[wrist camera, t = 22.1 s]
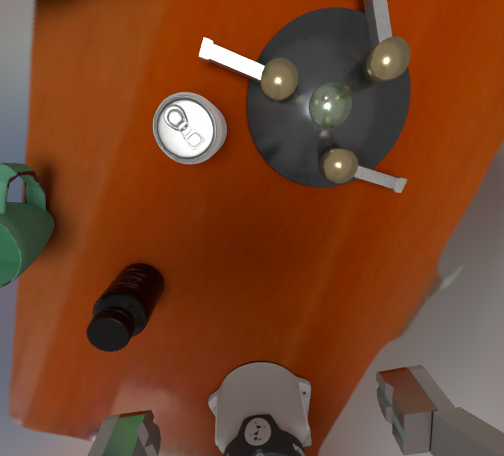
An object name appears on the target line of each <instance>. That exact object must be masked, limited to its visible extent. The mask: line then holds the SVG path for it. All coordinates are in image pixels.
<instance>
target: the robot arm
mask: <svg viewBox="0 0 504 456" xmlns="http://www.w3.org/2000/svg"><path fill="white" fill-rule="evenodd" d="M376 378H377V379H376V380H377V382H378V384H379V387H378V389H377V398H378V402H379V406H380V408H381V411H382V413H383V415H384V417H385V419H386V421H388V422H389V423H391V424H392V426H393V435H394V437H395V439H396V441H397V443H398V445H399V447H400V449H401V451H402V453H403V455H408V454H417V453H424V452H431V454H432V455H433V456H504V433H503V432H501V431H499V430H498V429H496V428H494V427H493V426H491V425H489V424H488V423H486V422H484V421H483V420H481V419H479V418H477V417H476V416H474V415H472V414H471V413H469V412H467V411H466V410H464V409H462V408H460V407H458V408H455V407H454V405H453V404H452V403H451V402H450V400H449V399H448V398H447V396H446V395H445V394H444V393H443V391H442V390H441V389H440V388H439V386H438V385H437V384H436V382H435V381H434V380H433V378H432V377H431V376H430V375H429V373H428V372H427V371H426V370H425V368H424V367H423V366H421V365H418V366H411V367H406V368H405V367H404V368H398V369H392V370H387V371H381V372H377V375H376ZM310 394H311V384H310V382H309V381H308V380H306V379H303V378H300V377H296V376H295V375H293V374H292V373H291V372H290V371H288V370H287V369H285V368H284V367H282V366H279V365H277V364H273V363H267V362H256V363H250V364H246V365H243V366H241V367H239V368H237V369H235V370H233V371H232V372H231V373H230V374H228V375H227V377H226V378H225V379H224V381H223V382H222V384H221V386H220V388H219V389H218V390H217V391H215V392H214V393H213V394H212V395H211V396H210V397H209V398H208V405H209V407H210V409H211V410H212V412H213V414H214V415H215V417H216V422H215V444H216V445H217V446H218V448H219V450H220V451H221V452H222V453H223V454H224V455H223V456H305V452H304V446H311V431H310V426H309V425H308V420H307V418H308V410H309V402H310ZM153 419H154V415H153V413H152V411H151V410H147V411H139V412H132V413H124V414H118V415H111V416H108V417H107V418H106V419H105V420H104V422H103V424H102V426H101V428H100V430H99V432H98V434H97V436H96V439H95V441H94V443H93V445H92V447H91V450H90V451H89V453H88V456H158V454H159V450H160V442H161V435H160V430H159V427H158V425H157V424H155V423H153Z"/></svg>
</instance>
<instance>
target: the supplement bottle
mask: <svg viewBox="0 0 504 456" xmlns="http://www.w3.org/2000/svg"><path fill="white" fill-rule="evenodd" d="M162 291H163V280H162V277H161V275H160V274H159V273H158V272H157V271H156V270H155V269H154V268H152V267H150V266H148V265H144V264H134V265H130V266H128V267H126V268H125V269H124V270H123V271H122V272H121V273H120V274H119V275H118V276H117V277H116V278H115V280H114V281H113V282H112V283H111V284H110V286H109V287H108V288H107V289H106V290H105V291H104V293H103V294H102V295H101V296H100V297H99V299H98V300H97V301H96V303H95V305H94V307H93V319H92V321H91V322H90V324H89V326H88V329H87V338H88V339H89V341H90V342H91V344H92V345H93V346H94V347H96V348H97V349H100V350H103V351H108V352H111V351H112V352H114V351H118V350H121V349H122V348H124V347H125V346H126V345H127V344H128V342H129V341H130V339H131V337H133V336H136V335H137V334H139V333H140V332H141V331H142V330H143V329H144V328H145V327H146V325H147V323H148V321H149V319H150V317H151V315H152V313H153V311H154V309H155V306H156V304H157V302H158V300H159V298H160V296H161V294H162Z"/></svg>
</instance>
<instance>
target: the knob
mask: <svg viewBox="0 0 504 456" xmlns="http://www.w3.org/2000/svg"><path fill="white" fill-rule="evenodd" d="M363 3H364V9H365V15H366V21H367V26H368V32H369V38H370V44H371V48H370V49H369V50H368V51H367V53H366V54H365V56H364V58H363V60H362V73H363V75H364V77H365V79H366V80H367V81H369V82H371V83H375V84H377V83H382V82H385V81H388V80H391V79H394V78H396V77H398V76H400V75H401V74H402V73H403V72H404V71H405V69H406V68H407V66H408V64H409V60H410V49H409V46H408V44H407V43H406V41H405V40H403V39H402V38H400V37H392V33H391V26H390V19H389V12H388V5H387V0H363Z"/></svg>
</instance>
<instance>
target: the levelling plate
mask: <svg viewBox="0 0 504 456" xmlns="http://www.w3.org/2000/svg"><path fill="white" fill-rule="evenodd" d="M392 37H394V36H393V35H392ZM370 48H371V44H370V38H369V32H368V26H367V21H366V15H365V13H362V12H359V11H357V10H352V9H348V8H335V7H333V8H324V9H319V10H315V11H312V12H309V13H307V14H304V15H302V16H300V17H298V18H296V19H295V20H293V21H291V22H290V23H288V24H287V25H286V26H285V27H283V28H282V29H281V30H280V31H279V32H278V33H277V34H276V35H275V36H274V37H273V38H272V39H271V40H270V42H269V43H268V44H267V46H266V47H265V49H264V50H263V52H262V53H261V55H260V57H259V59H258V61H257V63H259V64H261V65H263V66H266V64H267V63H268V62H270V61H271V60H273V59H275V58H285V59H287V60H289V61H290V62H292V63H293V65H294V66H295V68H296V70H297V73H298V83H297V87H296V89H295V90H294V92H293V93H292V94H291V95H290V96H289V97H287V98H286V99H284V100H282V101H279V102H272V101H270V100H268V99H266V98H265V97H264V96H263V94H262V93H261V90H260V87H259V82H256V81H254V80H252V79H251V80H250V84H249V89H248V96H247V116H248V123H249V128H250V132H251V135H252V137H253V140H254V142H255V144H256V146H257V148H258V150H259V152H260V153H261V155H262V156H263V157H264V159H265V160H266V161H267V162H268V163H269V164H270V166H271V167H272V168H273V169H275V170H276V171H277V172H278V173H279V174H281V175H283V176H284V177H286V178H287V179H289V180H292V181H294V182H296V183H299V184H302V185H306V186H312V187H331V186H337V185H341V184H345V183H348V182H350V181H353V180H355V179H357V178H356V177H353V178H352V179H350V180H349V181H347V182H345V183H335V182H332V181H331V180H329V179H327V178H325V177H324V176H323V175H322V174H321V173H320V171H319V168H318V163H319V159H320V157H321V155H322V154H323V153H324V152H325V151H326V150H328V149H331V148H340V149H345V150H349V151H351V152H352V153H354V155H355V156H356V158H357V160H358V166H361V167H364V168H367V169H370V170H372V169H373V168H374V167H375V166H376V165H377V164H378V163H380V162H381V160H382V159H383V158H384V157H385V156H386V155H387V154H388V152H389V151H390V150H391V148H392V147H393V146H394V144H395V142H396V141H397V139H398V137H399V135H400V133H401V131H402V128H403V126H404V123H405V120H406V117H407V114H408V108H409V103H410V76H409V70H408V66H407V68H406V69H405V71H404V72H403V73H402V74H401V75H400V76H398V77H396V78H394V79H391V80H388V81H385V82H382V83H377V84H375V83H371V82H369V81H367V80H366V79H365V77H364V75H363V73H362V60H363V58H364V56H365V54H366V53H367V51H368V50H369V49H370Z"/></svg>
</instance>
